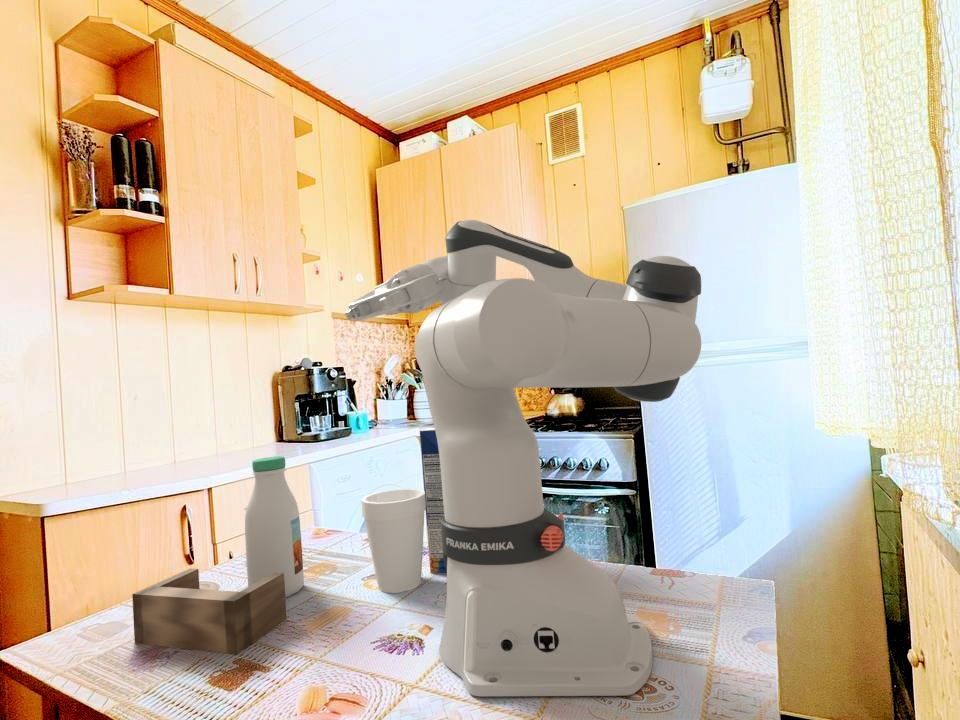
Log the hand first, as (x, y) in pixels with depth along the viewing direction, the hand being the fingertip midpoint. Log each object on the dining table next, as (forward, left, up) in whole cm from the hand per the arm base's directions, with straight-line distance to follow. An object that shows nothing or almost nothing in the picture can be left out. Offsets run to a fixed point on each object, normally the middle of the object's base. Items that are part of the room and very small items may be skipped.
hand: (365, 309), depth 88 cm
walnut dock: (+9, +27, -43) cm, 52 cm away
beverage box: (-15, 0, -43) cm, 46 cm away
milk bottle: (+9, +15, -43) cm, 47 cm away
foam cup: (-9, +10, -43) cm, 45 cm away
